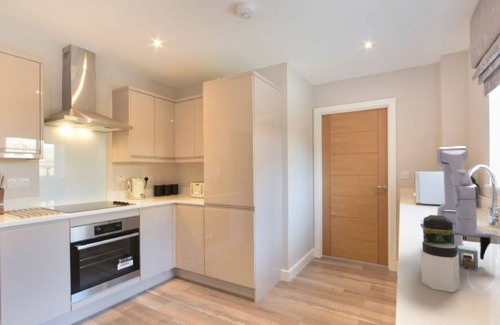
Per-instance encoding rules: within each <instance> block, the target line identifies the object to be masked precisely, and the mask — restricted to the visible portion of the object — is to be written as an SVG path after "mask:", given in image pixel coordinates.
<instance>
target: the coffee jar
mask: <svg viewBox="0 0 500 325" xmlns="http://www.w3.org/2000/svg"><path fill="white" fill-rule="evenodd" d="M422 220H423V221H422V222H423V225H422V226H423V227H422V228H423V230H422V231H423V232H422V236H423V241H442V242H447V243H451V244H453V223H452V221H451V220H449V219H447V218H445V217H444V216H438V215H437V214H435V215H434V214H431V215H428V216H424V217H423V219H422Z"/></svg>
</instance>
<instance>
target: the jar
mask: <svg viewBox="0 0 500 325" xmlns="http://www.w3.org/2000/svg"><path fill="white" fill-rule="evenodd" d="M421 243H422V244H421V245H422V250H421V251H420V258H421V259H420V262H421V263H420V264H421V267H420V268H421V269H420V270H421V283H422V284H424V285H425V286H427V287H429V288H430V289H432V290H436V291H440V292H448V293H452V294H453V293H455V292H456V291H458V290H459V289H461V288H460V285H461V283H460V264H459V256H458V249H457V246H455V245H454V244H451V243H447V242H442V241H424V240H423V241H422V242H421Z"/></svg>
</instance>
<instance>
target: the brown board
mask: <svg viewBox="0 0 500 325" xmlns="http://www.w3.org/2000/svg"><path fill="white" fill-rule="evenodd" d="M462 264H463V268H464V269H468V270H475V269H474V268H475V266H474V263H473V254H468V253H462Z"/></svg>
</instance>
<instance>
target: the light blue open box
mask: <svg viewBox="0 0 500 325" xmlns="http://www.w3.org/2000/svg"><path fill="white" fill-rule="evenodd" d="M463 253H468V254H471V255H472V259H473V265H474V268H479V257H478V256H479V255H478V254H479V253H478V249H477V247H474V246H468V245H467V246H466V245H464V246H459V245H458V249H457V255H458V256H459V265H463Z"/></svg>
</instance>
